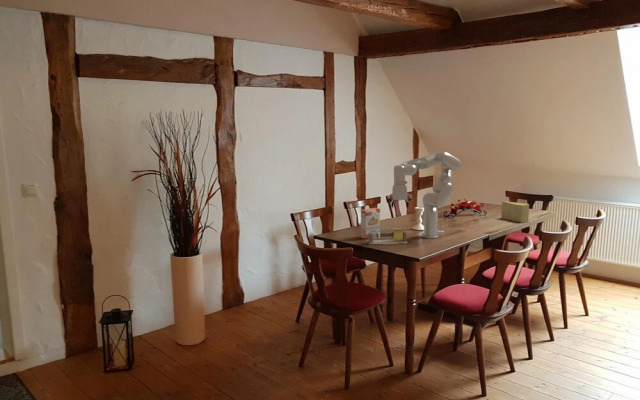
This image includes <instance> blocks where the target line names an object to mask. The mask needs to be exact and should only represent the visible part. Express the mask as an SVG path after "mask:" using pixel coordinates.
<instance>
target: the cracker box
mask: <svg viewBox="0 0 640 400" xmlns="http://www.w3.org/2000/svg"><path fill="white" fill-rule="evenodd" d="M380 222H381V208H378V207H372V208H366V209H360V238H362V239H365V240H368V239H367V238H368V233H371V232H376V234H377V233H378V232H380V233H381V227H380V226H381V223H380Z"/></svg>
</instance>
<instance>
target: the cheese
mask: <svg viewBox="0 0 640 400" xmlns="http://www.w3.org/2000/svg"><path fill="white" fill-rule="evenodd" d="M529 211H530V204H529V203H523V202H514V201H505V200H504V201H502V204H501V214H500V215H501V219H502V220H508V221H512V222H517V223H520V224H523V223H527V222H529V214H530V212H529Z"/></svg>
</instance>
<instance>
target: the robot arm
mask: <svg viewBox="0 0 640 400" xmlns="http://www.w3.org/2000/svg"><path fill="white" fill-rule="evenodd" d="M439 164H440V170H441V172H440V175H439V177H438V178H437V180H436V181H435V182H434V184H433V186H432V192H426V194H424V195H423V198H422V204H423V233H422V234H421V237H422V238H426V239H436V238H439V237H440V234H445V231H444V230H438V217H439V216H438V215H439V214H438V209H440V208H443V207H444V206H445V205H446V204H447V203H448V201H449V199H450V198H451V196H452V195H453V192H454V186H453V184H452V183H451V182H452V180H453V172H455V171H460V169H461V167H462V162H461V160H460V159H459V158H457V157H455V156H453V155H452V154H450V153H448V152H446V151H435V152H432V153H429V154H427V155H424V156H422V157H417V158H414V159H411V160H407V161H405V162H403V163H400V164H398V165H394V166H393V185H392V191H391V192H392V193H390V194H387V196H386V197H387V199H388V201H389V202H390V204H391V205H390V206H391V208H392V209H394V202H395V201H399V200H400V201H401V200H402V201H403V200H404V201H406V203H405V204H406V205H405V206H406V209H408V208H409V207H410V206H409V203H410V201H411V200H412V198H413V194H410V193H408V189H407V184H408V181H406V176H414V175H415V174H417V171H418V170H425V169H426V170H427V169H429V168H432V167H433V166H435V165H436V166H437V165H439ZM391 197H392V199H391ZM408 197H409V198H408Z"/></svg>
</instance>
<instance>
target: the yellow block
mask: <svg viewBox="0 0 640 400" xmlns="http://www.w3.org/2000/svg"><path fill="white" fill-rule="evenodd" d="M403 232H404V230H403V228H401V227H398V226H397V227H391V233H394V236H391V240H394V241H399V240H403Z"/></svg>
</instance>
